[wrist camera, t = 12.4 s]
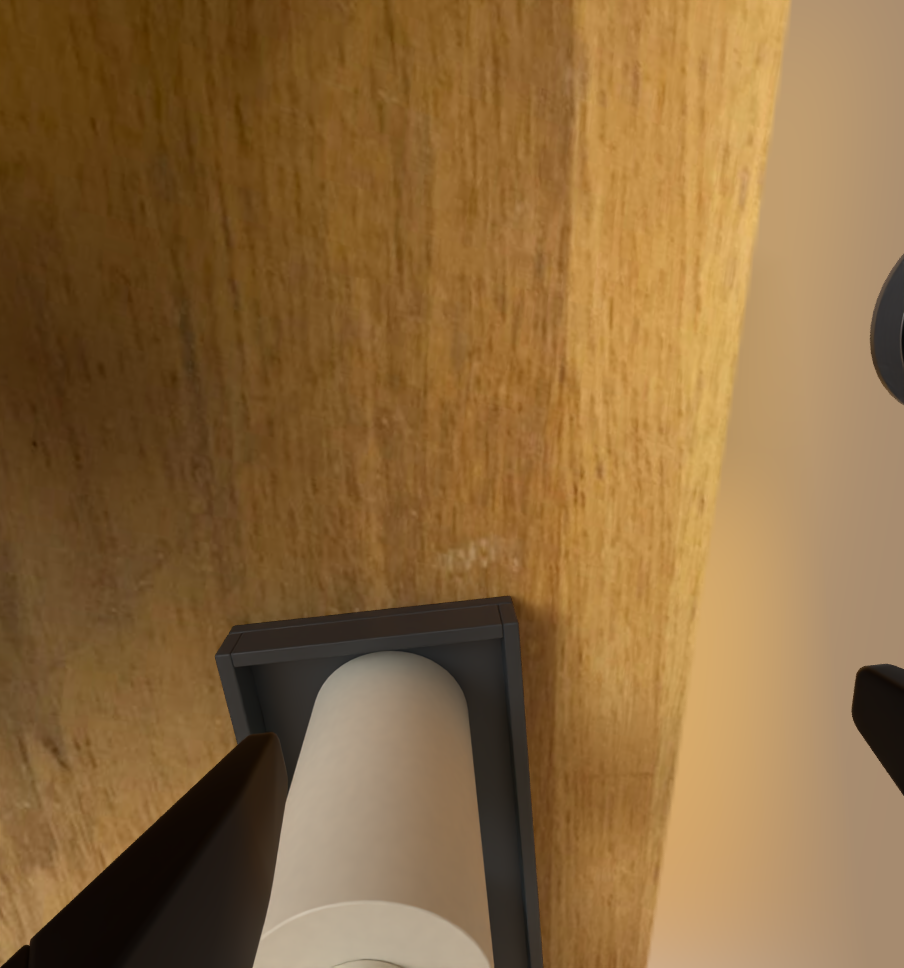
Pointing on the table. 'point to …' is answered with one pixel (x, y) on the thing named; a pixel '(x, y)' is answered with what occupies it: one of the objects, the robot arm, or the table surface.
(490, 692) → the tray
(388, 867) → the cream bottle
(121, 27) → the table surface
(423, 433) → the table surface
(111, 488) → the table surface
